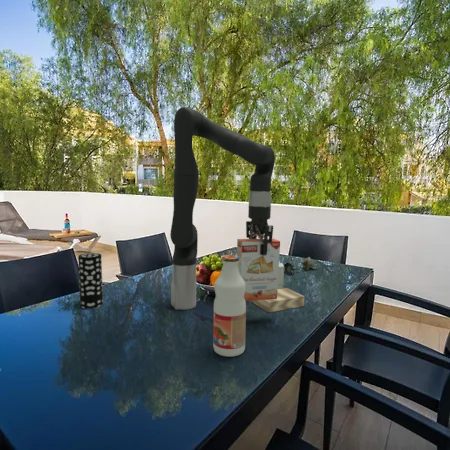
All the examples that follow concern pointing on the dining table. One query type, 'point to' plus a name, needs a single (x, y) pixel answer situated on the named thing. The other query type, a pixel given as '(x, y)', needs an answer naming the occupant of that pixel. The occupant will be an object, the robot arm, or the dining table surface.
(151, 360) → the dining table surface
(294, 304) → the birch plinth
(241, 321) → the fruit juice
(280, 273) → the supplement box
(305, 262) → the artificial flower
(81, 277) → the white-spotted black cylinder
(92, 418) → the dining table surface
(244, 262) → the cracker box
